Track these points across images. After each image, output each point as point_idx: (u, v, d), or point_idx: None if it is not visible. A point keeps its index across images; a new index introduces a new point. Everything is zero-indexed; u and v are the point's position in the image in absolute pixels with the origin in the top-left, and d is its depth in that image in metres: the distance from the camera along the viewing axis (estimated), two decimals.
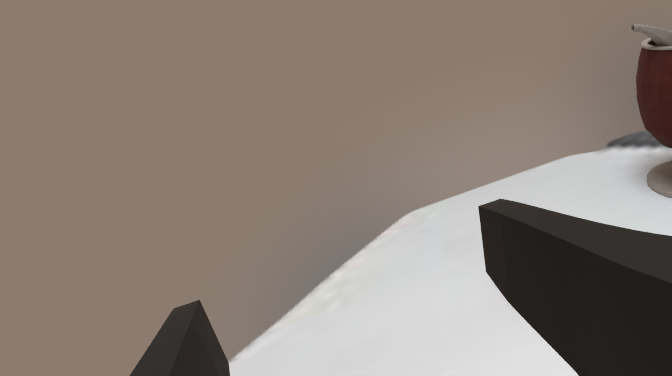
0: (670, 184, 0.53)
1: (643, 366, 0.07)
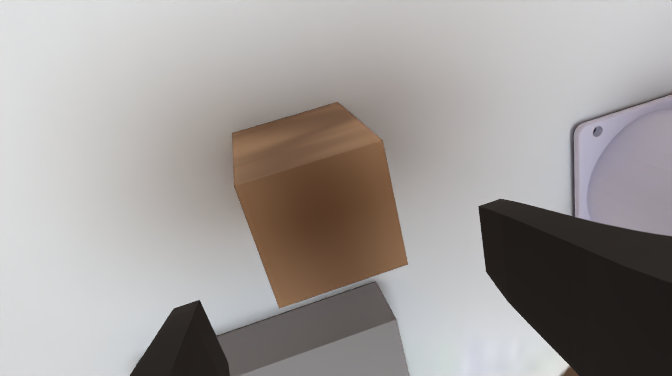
0: None
1: (643, 366, 0.07)
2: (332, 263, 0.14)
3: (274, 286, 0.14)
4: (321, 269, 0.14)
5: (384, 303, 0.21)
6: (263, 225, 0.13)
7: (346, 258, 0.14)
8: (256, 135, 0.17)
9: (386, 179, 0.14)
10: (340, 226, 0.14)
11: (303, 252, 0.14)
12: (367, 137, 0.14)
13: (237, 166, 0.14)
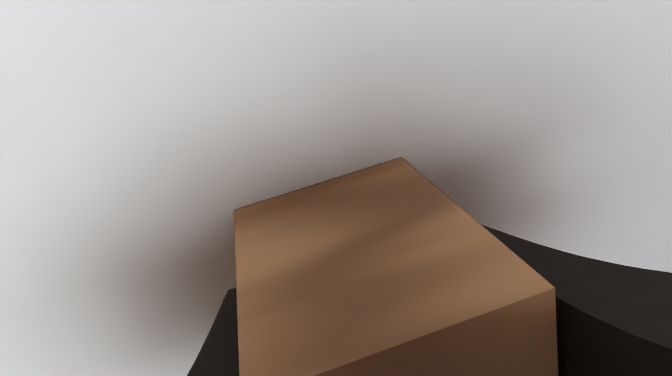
0: None
1: None
2: None
3: None
4: None
5: None
6: None
7: None
8: (275, 224, 0.10)
9: (550, 356, 0.07)
10: None
11: None
12: (509, 269, 0.07)
13: (245, 319, 0.07)
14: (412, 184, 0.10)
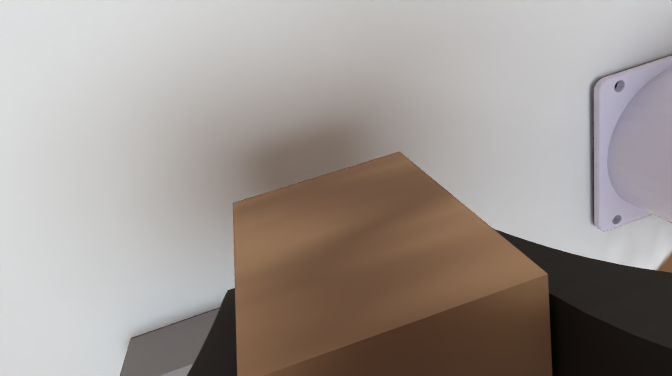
0: None
1: None
2: None
3: None
4: None
5: None
6: None
7: None
8: (273, 215, 0.10)
9: (543, 341, 0.07)
10: None
11: None
12: (504, 257, 0.07)
13: (243, 306, 0.07)
14: (409, 177, 0.10)
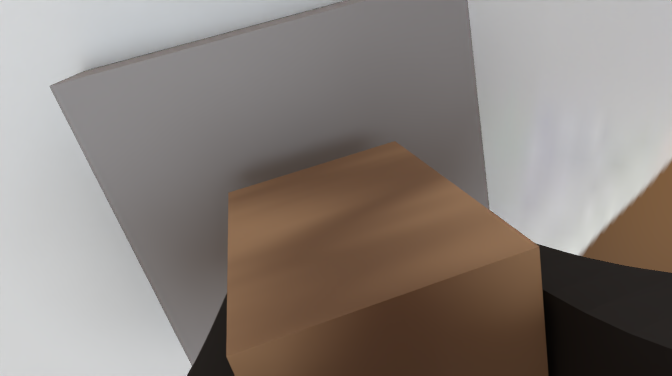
0: None
1: None
2: None
3: None
4: None
5: None
6: None
7: None
8: (268, 202, 0.10)
9: (537, 317, 0.07)
10: None
11: None
12: (495, 232, 0.07)
13: (235, 285, 0.07)
14: (404, 163, 0.10)
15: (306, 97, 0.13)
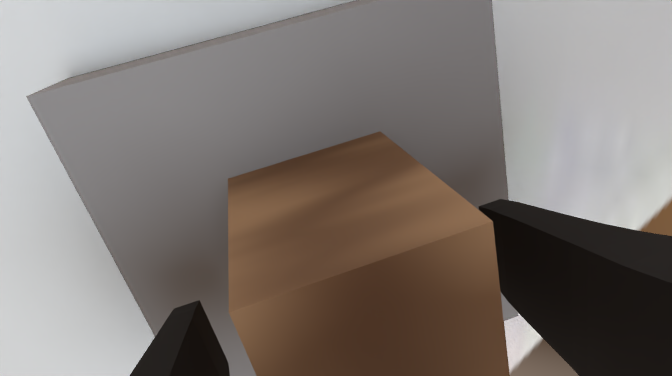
0: None
1: (643, 366, 0.07)
2: None
3: None
4: None
5: None
6: (281, 370, 0.08)
7: None
8: (264, 187, 0.11)
9: (493, 282, 0.08)
10: (411, 361, 0.08)
11: None
12: (458, 210, 0.08)
13: (235, 257, 0.08)
14: (386, 151, 0.11)
15: (313, 107, 0.12)
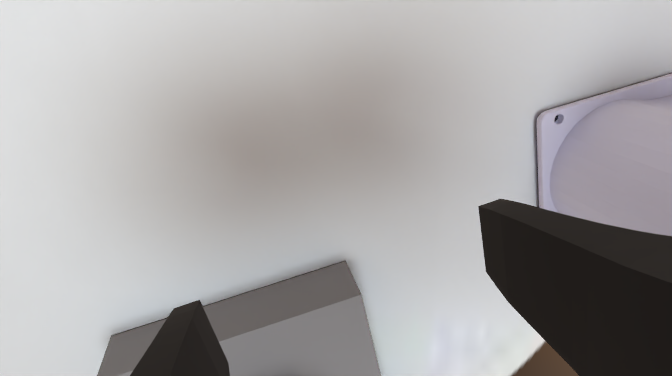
0: None
1: (643, 366, 0.07)
2: None
3: None
4: None
5: (351, 280, 0.21)
6: None
7: None
8: None
9: None
10: None
11: None
12: None
13: None
14: None
15: (258, 369, 0.21)
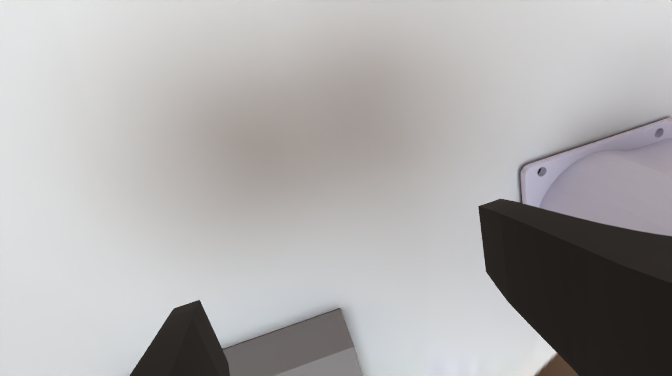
0: None
1: (643, 366, 0.07)
2: None
3: None
4: None
5: (345, 330, 0.23)
6: None
7: None
8: None
9: None
10: None
11: None
12: None
13: None
14: None
15: None
